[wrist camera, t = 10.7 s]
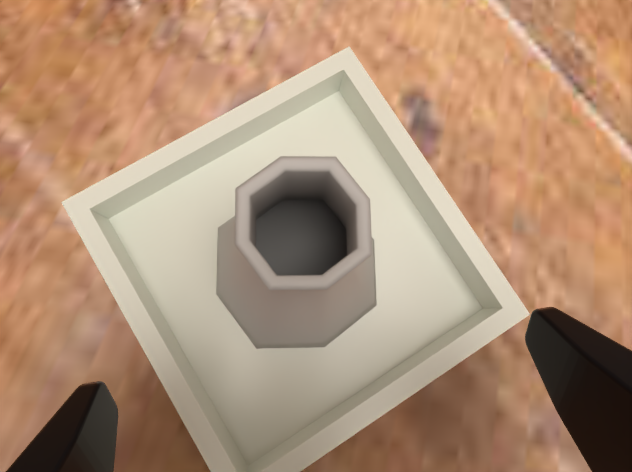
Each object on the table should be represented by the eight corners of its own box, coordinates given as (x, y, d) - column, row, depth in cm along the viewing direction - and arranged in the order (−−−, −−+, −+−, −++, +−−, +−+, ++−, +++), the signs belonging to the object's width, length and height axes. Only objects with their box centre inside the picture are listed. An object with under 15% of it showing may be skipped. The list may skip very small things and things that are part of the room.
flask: (243, 376, 19) (192, 443, 9) (192, 216, 20) (98, 121, 10) (401, 318, 20) (513, 322, 10) (345, 167, 21) (396, 35, 11)
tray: (242, 489, 19) (235, 516, 16) (89, 215, 20) (61, 202, 18) (501, 314, 21) (530, 314, 18) (342, 76, 22) (349, 46, 20)
